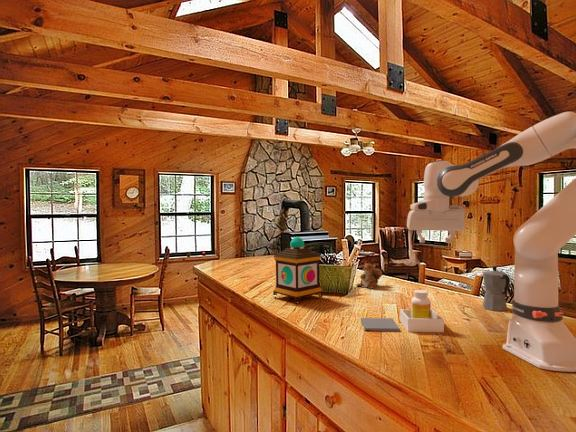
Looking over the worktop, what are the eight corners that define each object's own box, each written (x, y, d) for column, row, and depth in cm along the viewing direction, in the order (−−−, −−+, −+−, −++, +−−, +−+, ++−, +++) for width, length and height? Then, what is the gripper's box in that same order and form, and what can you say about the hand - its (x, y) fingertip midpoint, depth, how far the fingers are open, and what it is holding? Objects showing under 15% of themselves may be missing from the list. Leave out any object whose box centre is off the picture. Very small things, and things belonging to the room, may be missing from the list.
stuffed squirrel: (355, 287, 201) (354, 263, 201) (370, 283, 211) (369, 260, 210) (370, 290, 194) (370, 265, 193) (385, 286, 203) (385, 262, 203)
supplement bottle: (432, 329, 130) (432, 293, 130) (412, 328, 131) (412, 293, 131) (428, 323, 136) (428, 289, 136) (410, 323, 138) (410, 289, 138)
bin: (443, 332, 127) (443, 319, 127) (408, 331, 128) (408, 318, 128) (432, 321, 139) (432, 309, 139) (400, 320, 140) (399, 309, 140)
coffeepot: (474, 304, 162) (474, 264, 162) (494, 304, 163) (494, 263, 163) (498, 314, 147) (498, 270, 146) (520, 313, 148) (520, 269, 147)
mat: (399, 331, 129) (399, 328, 128) (365, 330, 129) (365, 328, 129) (392, 320, 140) (392, 318, 140) (360, 320, 141) (360, 318, 141)
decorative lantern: (269, 297, 179) (268, 236, 178) (298, 291, 192) (297, 234, 192) (297, 305, 164) (296, 239, 164) (326, 298, 177) (326, 236, 177)
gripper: (461, 205, 137) (460, 242, 138) (405, 204, 139) (405, 241, 139) (468, 205, 131) (467, 244, 132) (410, 205, 132) (409, 243, 133)
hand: (435, 242), depth 135 cm, fingers open, 8 cm apart
